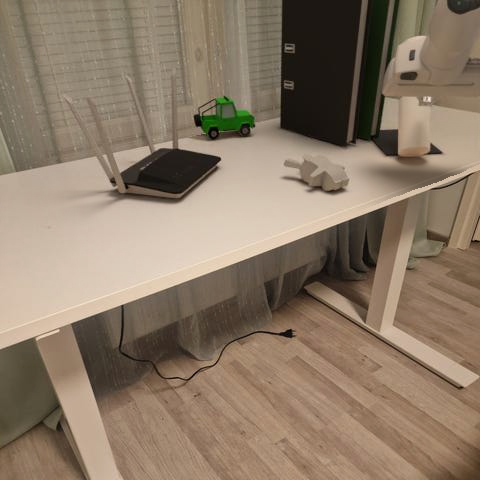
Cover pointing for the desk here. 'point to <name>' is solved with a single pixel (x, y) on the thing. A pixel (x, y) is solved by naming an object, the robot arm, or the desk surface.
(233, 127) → the toy car
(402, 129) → the cylindrical container
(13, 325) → the desk surface
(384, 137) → the mat
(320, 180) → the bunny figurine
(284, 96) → the ring binders
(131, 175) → the wireless router
